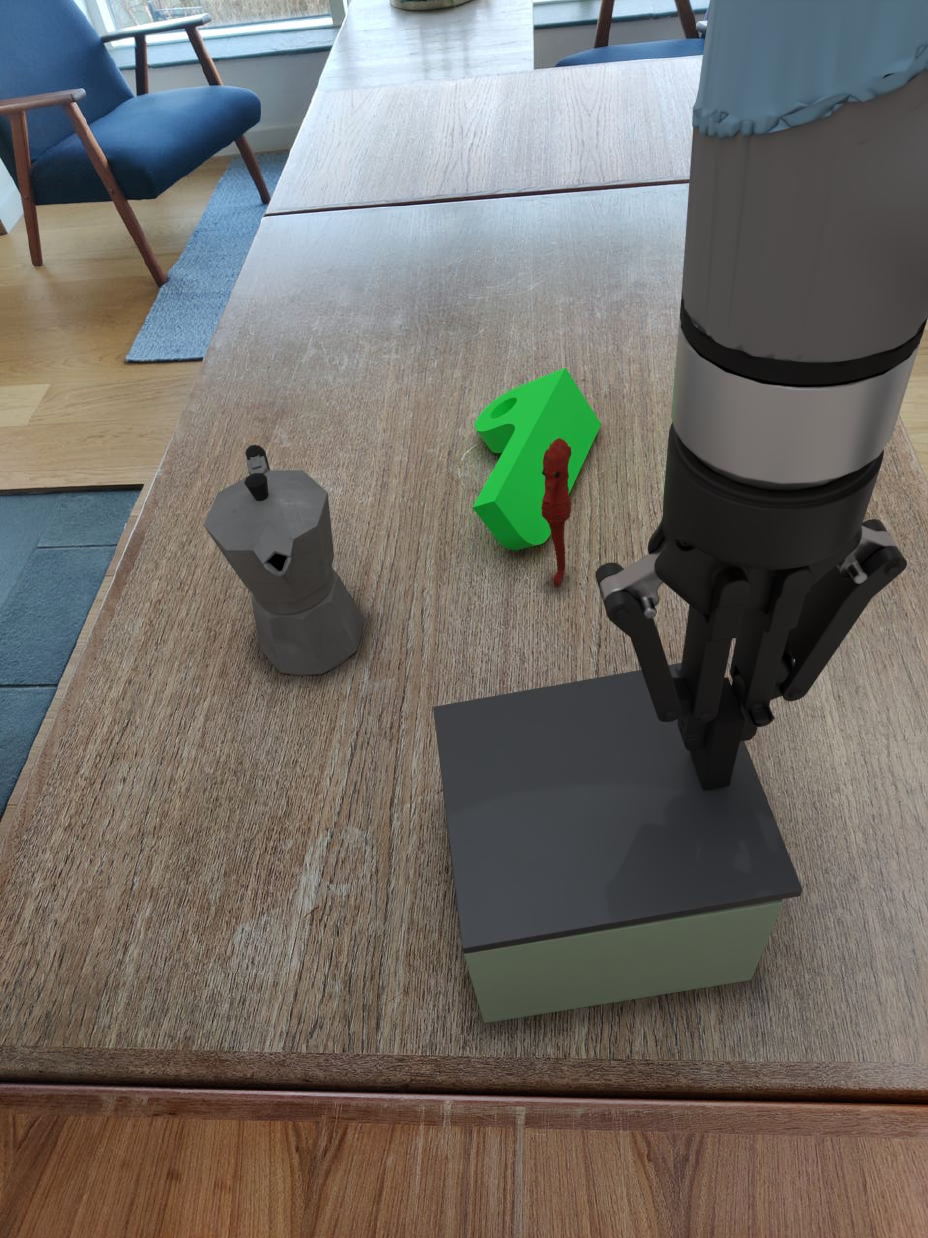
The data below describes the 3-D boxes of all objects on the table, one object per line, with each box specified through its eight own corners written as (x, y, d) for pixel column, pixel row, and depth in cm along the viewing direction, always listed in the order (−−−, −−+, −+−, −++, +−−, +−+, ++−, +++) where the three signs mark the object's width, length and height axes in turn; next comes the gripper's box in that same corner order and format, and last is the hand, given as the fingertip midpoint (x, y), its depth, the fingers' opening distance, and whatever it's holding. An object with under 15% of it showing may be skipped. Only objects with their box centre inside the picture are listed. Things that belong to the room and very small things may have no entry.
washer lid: (710, 664, 55) (711, 656, 55) (800, 896, 45) (803, 890, 45) (434, 713, 56) (432, 706, 55) (464, 954, 46) (462, 949, 45)
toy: (536, 600, 77) (527, 466, 66) (555, 557, 80) (549, 422, 69) (563, 606, 76) (558, 471, 65) (580, 562, 79) (579, 426, 68)
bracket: (526, 450, 96) (489, 397, 93) (601, 425, 90) (565, 366, 86) (456, 579, 85) (411, 524, 81) (537, 560, 78) (493, 499, 75)
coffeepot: (381, 678, 73) (334, 519, 60) (270, 710, 72) (196, 556, 59) (346, 554, 83) (299, 394, 70) (248, 581, 82) (181, 424, 69)
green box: (681, 769, 65) (697, 671, 56) (751, 980, 55) (783, 903, 46) (455, 805, 65) (434, 714, 56) (484, 1023, 55) (464, 955, 46)
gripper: (907, 341, 34) (798, 694, 52) (576, 395, 34) (580, 730, 52) (1009, 463, 29) (850, 807, 47) (622, 526, 29) (609, 846, 47)
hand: (708, 766), depth 50 cm, fingers closed
